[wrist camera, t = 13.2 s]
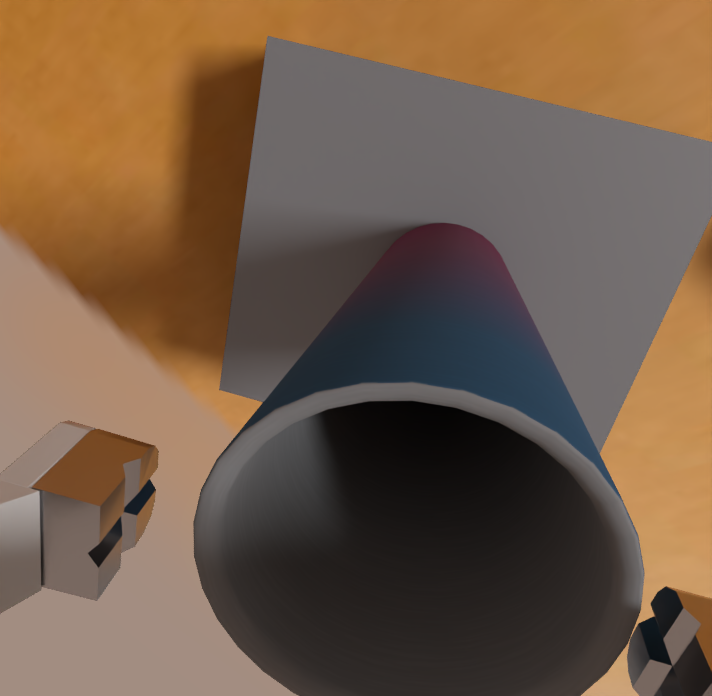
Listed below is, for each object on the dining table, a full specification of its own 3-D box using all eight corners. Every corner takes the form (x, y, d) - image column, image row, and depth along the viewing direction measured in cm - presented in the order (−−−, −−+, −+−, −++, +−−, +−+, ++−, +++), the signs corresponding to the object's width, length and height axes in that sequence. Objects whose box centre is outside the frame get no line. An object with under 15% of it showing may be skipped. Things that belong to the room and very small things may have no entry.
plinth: (255, 345, 31) (219, 389, 26) (303, 46, 25) (267, 36, 20) (564, 429, 30) (582, 491, 25) (689, 138, 24) (742, 149, 19)
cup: (411, 397, 25) (346, 772, 11) (318, 259, 23) (107, 501, 9) (567, 318, 22) (725, 672, 9) (475, 158, 21) (495, 288, 7)
